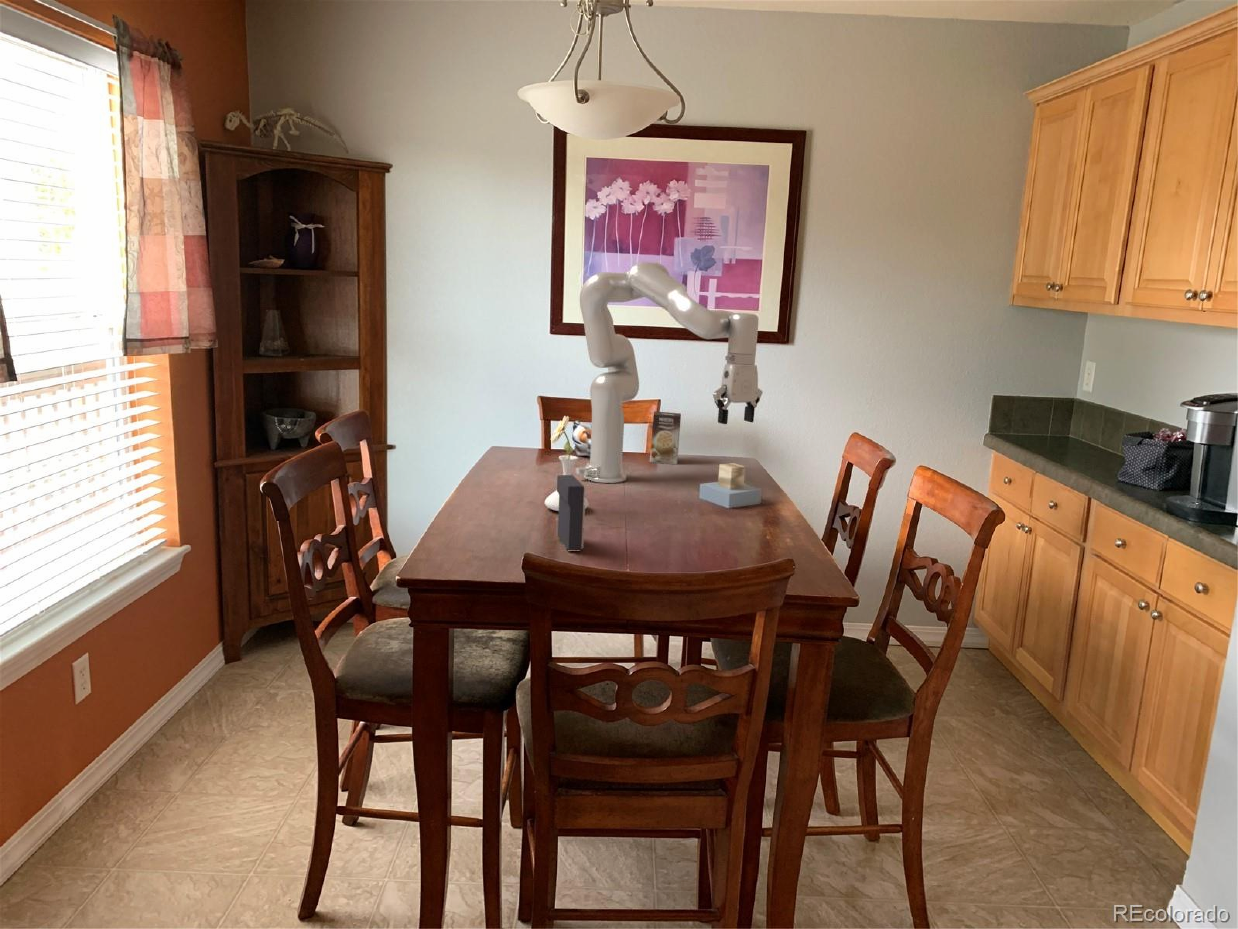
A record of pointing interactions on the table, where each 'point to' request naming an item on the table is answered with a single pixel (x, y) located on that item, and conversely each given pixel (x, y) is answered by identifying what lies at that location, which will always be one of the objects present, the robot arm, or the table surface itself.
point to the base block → (730, 495)
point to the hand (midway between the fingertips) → (735, 422)
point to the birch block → (731, 476)
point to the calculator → (571, 512)
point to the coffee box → (665, 437)
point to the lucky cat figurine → (582, 438)
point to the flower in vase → (567, 463)
